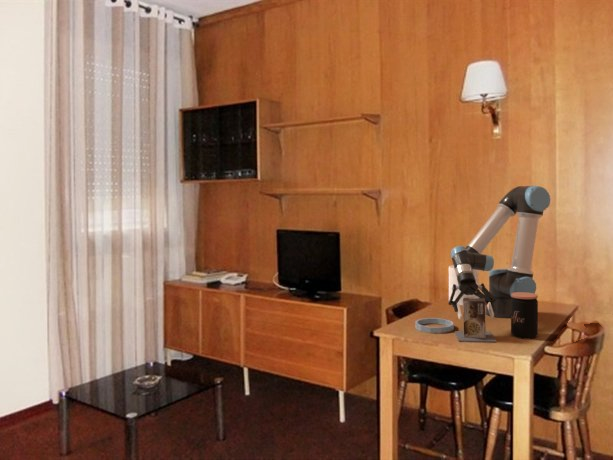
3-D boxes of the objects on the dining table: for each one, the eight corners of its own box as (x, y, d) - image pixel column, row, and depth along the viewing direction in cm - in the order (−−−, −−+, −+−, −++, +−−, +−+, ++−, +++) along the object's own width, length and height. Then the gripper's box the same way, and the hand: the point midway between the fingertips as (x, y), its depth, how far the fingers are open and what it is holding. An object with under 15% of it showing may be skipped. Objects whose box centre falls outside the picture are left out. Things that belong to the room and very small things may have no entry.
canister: (443, 300, 294) (443, 265, 292) (468, 298, 297) (468, 264, 296) (458, 306, 278) (457, 269, 276) (484, 304, 282) (484, 268, 280)
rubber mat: (490, 333, 226) (490, 331, 226) (496, 342, 212) (496, 341, 212) (454, 332, 229) (454, 331, 229) (458, 341, 215) (458, 340, 215)
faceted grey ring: (451, 323, 244) (451, 318, 244) (455, 333, 227) (455, 327, 227) (414, 322, 247) (414, 317, 247) (416, 332, 230) (416, 327, 230)
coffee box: (485, 334, 222) (485, 297, 221) (485, 338, 216) (485, 301, 215) (463, 333, 225) (463, 297, 224) (463, 337, 219) (462, 300, 218)
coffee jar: (506, 333, 226) (506, 292, 224) (529, 331, 227) (529, 291, 225) (518, 340, 215) (518, 297, 214) (542, 338, 216) (543, 296, 215)
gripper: (490, 280, 234) (503, 321, 220) (436, 282, 234) (445, 322, 220) (495, 270, 228) (508, 311, 215) (439, 272, 228) (448, 313, 215)
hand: (476, 317), depth 217 cm, fingers open, 13 cm apart
